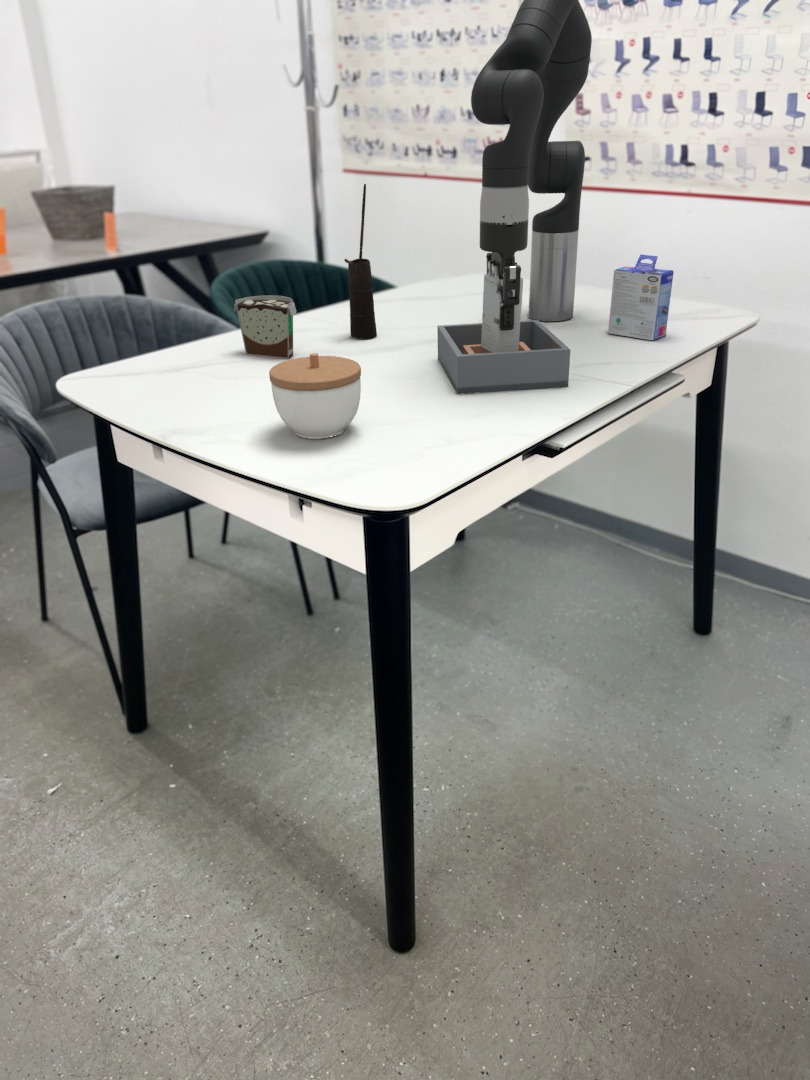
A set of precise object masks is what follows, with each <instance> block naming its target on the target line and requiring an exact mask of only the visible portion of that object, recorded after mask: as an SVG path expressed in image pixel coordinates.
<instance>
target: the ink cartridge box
mask: <svg viewBox="0 0 810 1080" xmlns="http://www.w3.org/2000/svg"><path fill="white" fill-rule="evenodd" d="M658 257H659V256H658V255H648V254H639V257H638V259H637V261H636V264H635V266H623V267H619V268H616V269H615V270H613V278H612V290H611V299H610V300H611V301H610V308H609V309H610V310H609V316H608V317H609V320H608V328H607V329H608V330H607V334H610V335H616V336H622V337H628V338H635V339H640V340H648V341H655V340H658V339H662V338H664V337H666V336H667V328H668V320H669V313H670V312H669V311H670V304H671V303H670V302H671V296H672V288H673V279H674V270H672V269H664V268H663V269H661V268H656V264H657V260H658ZM643 260H650V261H652V262H651V263H647V262H642V261H643Z"/></svg>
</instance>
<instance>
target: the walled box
mask: <svg viewBox="0 0 810 1080" xmlns="http://www.w3.org/2000/svg"><path fill="white" fill-rule="evenodd" d="M436 327H437V360H438V362H439V364H440V365H441V367H442V369H443V372H444V373H445V375H446V376H447V378H448V380H449V382H450V384H451V385H452V388H453V390H454V391H455V393H456V394H457V395H459V394H460V395H462V394H461V393H464V394H475V392H480V393H490V392H491V393H492V392H507V391H521V390H522V391H524V390H525V391H526V390H536V389H537V390H538V389H540V390H541V389H550V388H551V389H552V388H554V389H555V388H566V387H567V388H568V387H569V376H570V362H571V349H570V348H569V346H567V345H566V344H565V343H564V342H563V341H562V340H560V339H559V338H558V337H557V336H556V335H555V334H554V333H553V332H552V331H550V330H549V328H547V327H546V325H544V324H543V323H542V322H540V320H535V319H531V320H527V319H526V320H521V321H520V335H519V350H518V351H510V352H494V353H492V352H490V351H488V350H486V349H485V348H483V347H482V346H481V338H482V322H480V323H479V322H477V323H459V324H443V325H437V326H436Z"/></svg>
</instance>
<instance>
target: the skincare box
mask: <svg viewBox="0 0 810 1080" xmlns="http://www.w3.org/2000/svg"><path fill="white" fill-rule="evenodd" d="M512 281H513V280H512ZM499 282H500V285H501V286H503V280H501V279H499ZM523 287H524V278H523V277H522V276H520V296H519V299H520V302H519V305H516V306H514V328H513V329H512V330H507V331H502V330H501V329H500V328H499V323H500V305H499V302H500V301H499V294H498V293H496V291H495V281H494V276H493V274H491V275H490V274H487V273H485V274H484V275H483V293H482V295H483V297H482V315H481V316H482V318H481V319H482V320H481V323H482V338H481V346H482V347H483V348H485V349H486V350H488V351H490V352H492V353H494V352H510V351H518V350H519V335H520V321H522V319H521V318H522V303H523V290H524V288H523ZM507 297H511V293H510V292H507Z"/></svg>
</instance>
